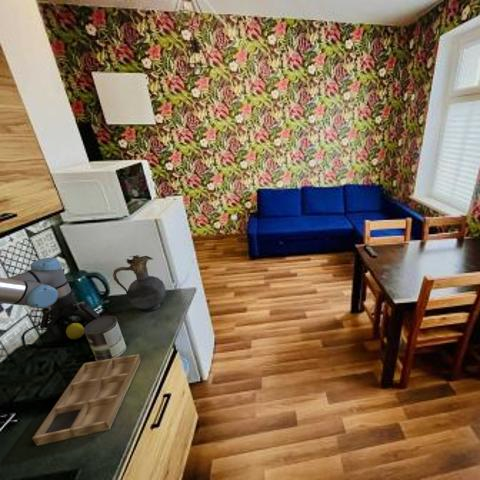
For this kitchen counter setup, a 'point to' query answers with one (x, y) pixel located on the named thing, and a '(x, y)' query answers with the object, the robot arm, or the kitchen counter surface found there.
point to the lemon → (74, 331)
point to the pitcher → (142, 285)
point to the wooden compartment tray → (89, 400)
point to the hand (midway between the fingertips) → (78, 336)
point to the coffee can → (105, 338)
